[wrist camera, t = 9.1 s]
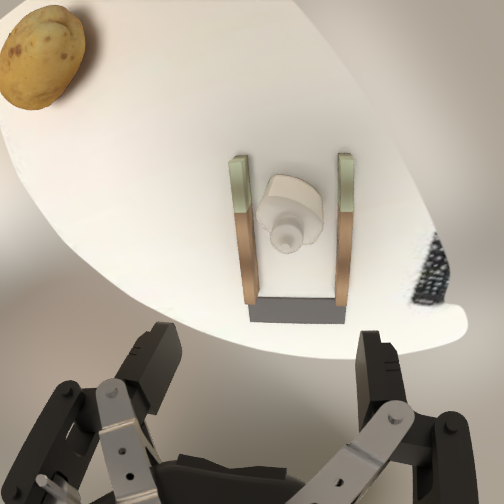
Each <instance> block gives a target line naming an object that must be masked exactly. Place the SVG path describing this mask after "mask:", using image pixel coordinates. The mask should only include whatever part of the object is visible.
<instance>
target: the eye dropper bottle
mask: <svg viewBox="0 0 504 504" xmlns="http://www.w3.org/2000/svg"><path fill="white" fill-rule="evenodd" d="M256 218H257V220H258V221H259V223H260V224H261V225H262V226H263V227H264V228H265V229H266V230H267V231H268V232H269V233H271V235H270V240H271V243H272V245H273V247H274V248H275V249H276V250H277V251H279V252H281V253H286V254H287V253H288V254H289V253H293V252H295V251H297V250H298V249H299V248H300V247H301V246H302V245H308V244H313V243H314V242H315V241H316V240H317V239H318V237H319V235H320V233H321V232H322V230H323V225H324V221H323V207H322V198H321V196H320V195H319V193H318V192H317V191H316V190H315V189H314V188H313V187H311V186H310V185H309V184H307V183H306V182H304V181H302V180H300V179H298V178H295V177H291V176H286V175H275V176H273V177H272V178H271V179H270V181H269V183H268V185H267V188H266V190H265V192H264V195H263V197H262V199H261V202H260V204H259V206H258V209H257V212H256Z"/></svg>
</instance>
